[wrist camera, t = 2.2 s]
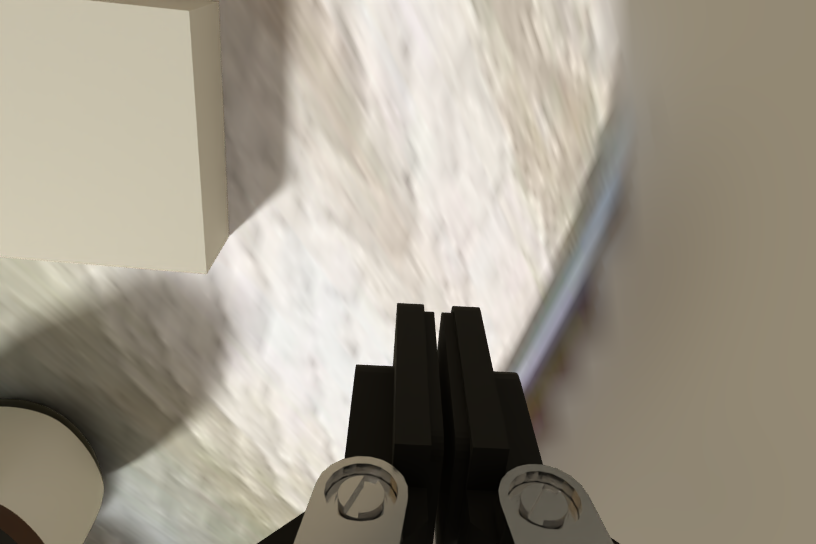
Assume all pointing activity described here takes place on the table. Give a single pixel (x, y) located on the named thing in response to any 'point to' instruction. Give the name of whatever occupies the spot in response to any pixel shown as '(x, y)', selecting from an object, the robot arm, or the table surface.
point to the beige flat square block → (112, 133)
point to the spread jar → (45, 477)
